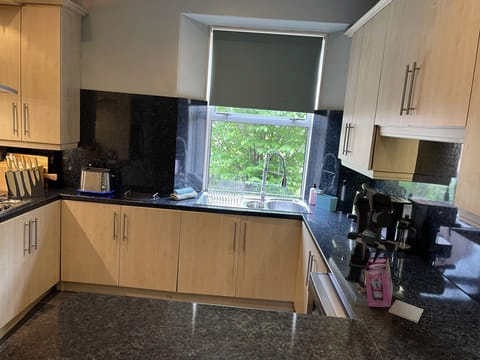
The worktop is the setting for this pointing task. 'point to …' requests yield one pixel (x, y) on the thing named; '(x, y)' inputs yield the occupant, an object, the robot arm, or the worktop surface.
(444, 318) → the worktop surface
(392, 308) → the mat
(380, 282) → the gum box
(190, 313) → the worktop surface
